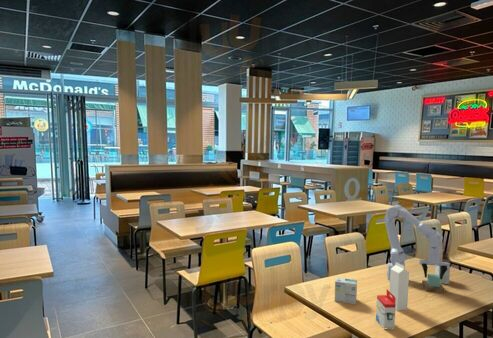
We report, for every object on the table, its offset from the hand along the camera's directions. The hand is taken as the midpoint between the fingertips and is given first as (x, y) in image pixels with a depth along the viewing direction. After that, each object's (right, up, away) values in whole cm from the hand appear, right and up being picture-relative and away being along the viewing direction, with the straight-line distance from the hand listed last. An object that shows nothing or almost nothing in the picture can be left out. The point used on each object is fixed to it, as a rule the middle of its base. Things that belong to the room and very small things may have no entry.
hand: (433, 277), depth 188 cm
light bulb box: (-53, -7, -14) cm, 56 cm away
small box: (+11, -6, +11) cm, 16 cm away
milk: (-29, -8, -21) cm, 37 cm away
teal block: (0, -4, 0) cm, 4 cm away
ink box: (-42, -9, -37) cm, 57 cm away
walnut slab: (0, -7, +1) cm, 7 cm away
